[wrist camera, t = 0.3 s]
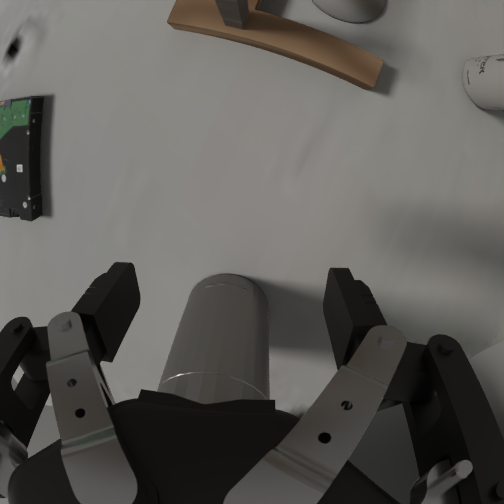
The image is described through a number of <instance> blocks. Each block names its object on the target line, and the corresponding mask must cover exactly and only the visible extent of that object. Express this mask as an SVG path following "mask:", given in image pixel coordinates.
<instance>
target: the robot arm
mask: <svg viewBox="0 0 504 504" xmlns="http://www.w3.org/2000/svg"><path fill="white" fill-rule="evenodd" d="M89 287H90V288H88V289H87V290H86V292H85V294H83V296H82V297H81V298H80V299H79V301H78V302H77V303H76V305H75V306H74V308H73V309H72V310H71V312H63V313H60V314H58V315H56V316H55V317H53V318H52V319H51V320H50V322H49V324H48V326H45V327H34V328H33V325H32V323H31V321H30V320H29V319H28V318H27V317H18V318H15V319H13V320H11V321H10V322H8V323H7V324H6V325H5V327H4V328H3V329H2V331H1V332H0V498H8V501H9V504H400V503H399V502H398V501H397V500H395V499H394V498H392V497H391V496H390V495H389V494H388V493H386V492H385V491H384V490H383V489H382V488H380V487H379V486H378V485H377V484H375V483H374V482H373V481H372V480H371V479H369V478H368V477H367V476H366V475H365V474H363V473H362V472H361V471H360V470H359V469H358V468H357V467H355V466H354V465H353V464H352V463H351V462H350V461H349V460H348V458H349V456H350V455H351V453H352V452H353V450H354V449H355V447H356V445H357V444H358V442H359V440H360V439H361V437H362V435H363V433H364V432H365V430H366V428H367V427H368V425H369V423H370V421H371V419H372V418H373V416H374V414H375V412H376V410H377V408H378V407H379V405H380V403H381V401H382V399H383V398H386V399H393V400H400V401H402V404H403V408H404V411H405V415H406V419H407V423H408V427H409V430H410V435H411V439H412V443H413V448H414V452H415V457H416V461H417V466H418V471H419V476H420V478H419V479H418V480H417V481H416V482H415V483H414V485H413V486H412V489H411V492H410V504H504V440H503V437H502V434H501V432H500V429H499V427H498V424H497V422H496V419H495V417H494V414H493V412H492V410H491V407H490V405H489V403H488V400H487V398H486V396H485V394H484V391H483V389H482V387H481V385H480V383H479V381H478V379H477V377H476V375H475V373H474V371H473V369H472V367H471V365H470V363H469V361H468V359H467V357H466V355H465V353H464V351H463V349H462V348H461V346H460V344H459V343H458V342H457V341H456V340H455V339H453V338H451V337H449V336H447V335H440V334H439V335H434V336H432V337H431V338H430V339H429V341H428V343H427V345H422V344H416V343H410V342H407V341H406V338H405V336H404V335H403V333H402V332H400V331H399V330H398V329H396V328H394V327H391V326H387V323H386V321H385V319H384V317H383V315H382V313H381V311H380V309H379V307H378V305H377V304H376V301H375V299H374V297H373V295H372V293H371V291H370V289H369V287H368V286H367V285H365V284H364V283H363V282H362V281H361V280H354V278H353V276H352V274H351V272H350V270H349V268H330V269H329V272H328V278H327V284H326V290H325V296H324V303H323V311H324V316H325V320H326V324H327V328H328V332H329V336H330V340H331V344H332V348H333V352H334V357H335V361H336V365H337V369H338V371H337V373H336V374H335V375H334V377H333V378H332V380H331V381H330V382H329V384H328V385H327V386H326V388H325V389H324V390H323V392H322V393H321V394H320V396H319V397H318V398H317V399H316V401H315V402H314V403H313V405H312V406H311V407H310V408H309V410H308V411H307V412H306V413H305V415H304V416H303V417H302V418H301V419H300V418H298V417H297V416H294V415H292V414H290V413H287V412H284V411H281V410H276V409H275V400H270V387H269V336H268V306H267V301H266V298H265V296H264V294H263V293H262V291H261V290H260V288H258V287H257V286H256V285H255V284H254V283H253V282H251V281H249V280H247V279H246V278H243V277H240V276H237V275H231V274H219V275H214V276H210V277H208V278H206V279H204V280H202V281H201V282H199V283H198V284H197V285H196V286H195V287H194V289H193V290H192V292H191V294H190V296H189V299H188V302H187V305H186V307H185V310H184V313H183V315H182V318H181V321H180V324H179V327H178V330H177V333H176V335H175V338H174V341H173V344H172V347H171V350H170V353H169V356H168V359H167V362H166V365H165V368H164V371H163V374H162V377H161V380H160V384H159V387H158V390H157V392H156V391H149V390H143V389H141V391H140V394H139V397H138V398H137V399H130V400H125V401H122V402H119V403H115V401H114V398H113V396H112V393H111V391H110V388H109V386H108V383H107V380H106V378H105V375H104V372H103V370H102V367H101V365H100V362H101V361H107V362H112V361H113V359H114V357H115V355H116V353H117V351H118V349H119V347H120V345H121V343H122V340H123V338H124V336H125V334H126V332H127V330H128V328H129V326H130V324H131V322H132V320H133V318H134V316H135V314H136V312H137V310H138V308H139V306H140V291H139V287H138V282H137V277H136V272H135V267H134V265H133V263H127V262H115V263H114V264H113V265H112V266H111V268H110V269H109V270H108V271H107V273H103V274H102V275H101V276H99V277H98V278H96V279H95V280H94V281H93V283H92V284H91V285H90V286H89ZM19 365H20V367H21V368H22V370H23V371H24V374H23V376H22V378H21V380H20V381H19V383H18V385H17V387H16V389H15V391H14V390H13V388H12V385H11V380H12V376H13V375H14V373H15V371H16V369H17V368H18V366H19ZM50 393H51V398H52V403H53V408H54V413H55V417H56V421H57V426H58V430H59V433H60V439H59V440H57V441H56V442H54V443H53V444H51V445H49V446H48V447H46V448H45V449H43V450H41V451H40V452H38V453H36V454H35V455H33V456H31V457H30V458H28V452H27V447H28V444H29V442H30V439H31V436H32V434H33V432H34V429H35V427H36V424H37V422H38V419H39V417H40V414H41V412H42V410H43V408H44V405H45V403H46V401H47V399H48V397H49V394H50Z"/></svg>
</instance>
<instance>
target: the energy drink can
mask: <svg viewBox="0 0 504 504" xmlns="http://www.w3.org/2000/svg"><path fill="white" fill-rule="evenodd" d="M462 82H463V86H464V89H465V91H466V93H467V95H468V96H469V97H470V98H471V100H472V101H473V102H474V103H475V104H476V105H477V106H479V107H481V108H483V109H490V110H499V111H504V54H503V55H494V56H485V57H478V58H472V59H470V60H468V62H467V63H466V65H465V67H464V69H463V73H462Z"/></svg>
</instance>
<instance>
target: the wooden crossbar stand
mask: <svg viewBox="0 0 504 504" xmlns="http://www.w3.org/2000/svg"><path fill="white" fill-rule="evenodd" d="M312 1H313V2H314V4H315V5H316V6H317V7H318V8H319V9H321V10H322V11H323V12H325V13H326V14H328V15H329V16H331V17H333V18H336V19H338V20H341V21H345V22H350V23H362V22H367V21H370V20H372V19H374V18H375V17H377V16H378V15H379V14H380V13H381V12H382V10H383V8H384V5H385V0H312ZM261 2H262V0H176V2H175V4H174V6H173V9H172V11H171V13H170V15H169V18H168V20H167V23H168V24H169V25H171V26H172V27H173V28H174V29H178V30H184V31H189V32H195V33H200V34H205V35H210V36H214V37H219V38H223V39H227V40H231V41H235V42H239V43H243V44H246V45H250V46H254V47H257V48H260V49H264V50H267V51H270V52H273V53H276V54H279V55H282V56H285V57H288V58H291V59H294V60H297V61H299V62H302V63H305V64H307V65H310V66H313V67H315V68H318V69H320V70H322V71H325V72H327V73H330V74H332V75H334V76H337V77H339V78H341V79H343V80H346V81H348V82H350V83H352V84H354V85H356V86H358V87H361V88H363V89H365V90H366V89H370V88H374V87H375V84H376V81H377V78H378V75H379V73H380V70H381V67H382V64H383V61H384V60H382V59H380V58H378V57H377V56H375V55H373V54H371V53H369V52H367V51H365V50H363V49H361V48H358V47H356V46H354V45H352V44H350V43H348V42H345V41H343V40H341V39H339V38H336V37H334V36H332V35H329V34H327V33H324V32H322V31H319V30H317V29H314V28H311V27H309V26H306V25H303V24H300V23H297V22H295V21H292V20H289V19H285V18H282V17H279V16H276V15H273V14H269V13H266V12H262V11H258V9H259V7H260V5H261Z"/></svg>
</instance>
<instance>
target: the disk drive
mask: <svg viewBox="0 0 504 504" xmlns="http://www.w3.org/2000/svg"><path fill="white" fill-rule="evenodd" d="M43 99H44V97H43V96H31V97H24V98H18V99H10V100H5V101H1V102H0V216H4V217H9V218H11V217H20V219H21V220H27V221H33V220H35V219H37V218H38V217H40V216H42V197H41V185H40V138H41V122H42V109H43Z"/></svg>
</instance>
